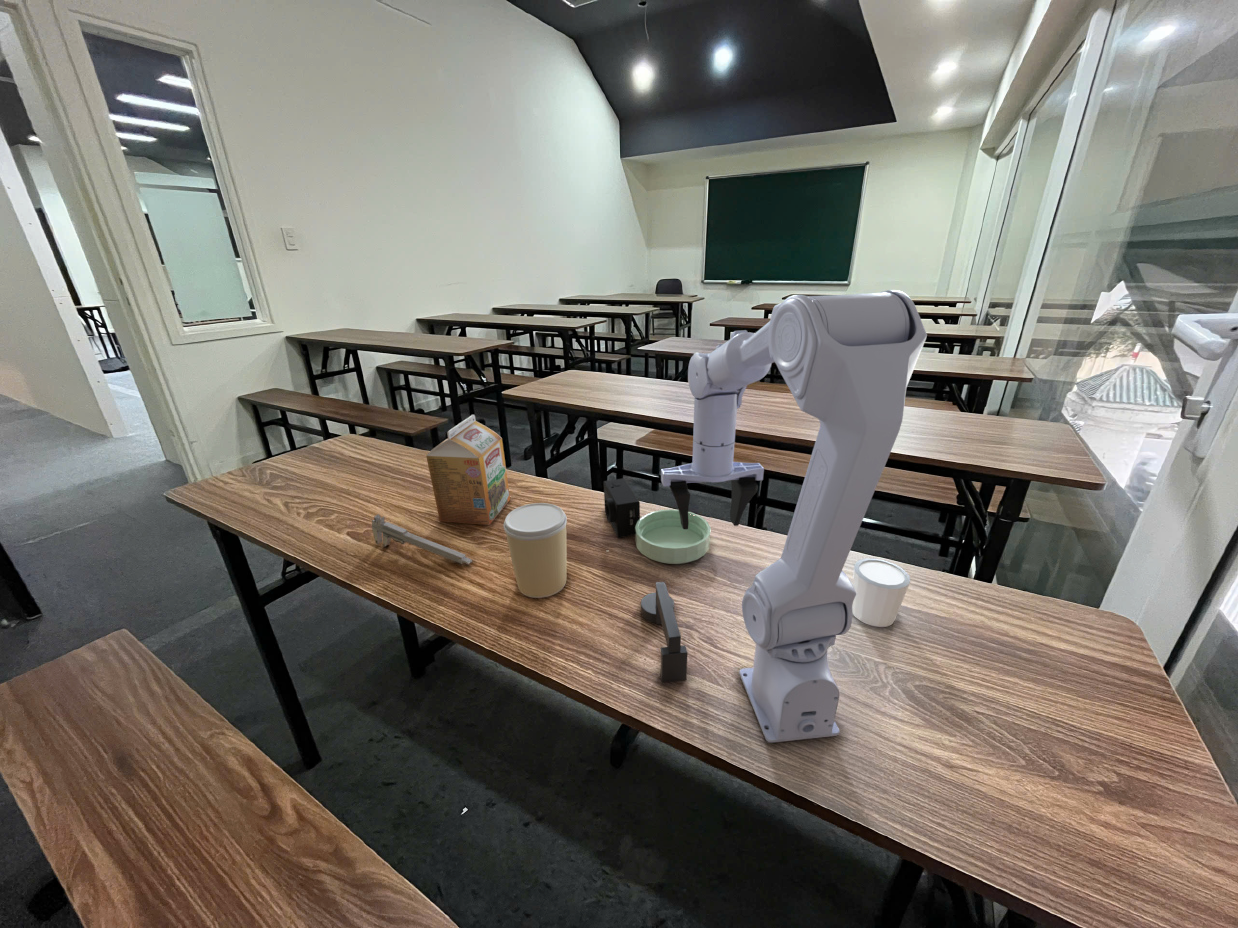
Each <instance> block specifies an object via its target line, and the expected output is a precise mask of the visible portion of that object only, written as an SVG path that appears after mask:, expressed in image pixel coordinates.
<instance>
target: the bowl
mask: <svg viewBox="0 0 1238 928" xmlns="http://www.w3.org/2000/svg"><path fill="white" fill-rule="evenodd" d="M690 514H691V515H690ZM693 515H695V516H693ZM688 522H689V525H688V529H683V528H682V525H681V520H680V514H679V509H671V508H669V509H658V510H654V511H651V512H649V513H647V514H645V515H642V516H640V519H639V520H638V521H637V524H636V526H635V535H634V539H635V540H634V541H635V546H636V549H637V550H638V551H639V552H640V554H642V555H643V556H645V557H646V558H648V559H649V560H652V561H655V562H659V563H662V564H667V565H668V564H670V565H678V564H686V563H687V564H688V563H691V562H694V561H697V560H699V559H700V558H702V557H704V556H705V555H706V554H707V552H709V550H710V548H711V547H710V545H711V532H712V531H711V529H712V527H711V525H710V523H709V522H708V521H707V520H706V519H705V518H704V517H702V516H701V515H699V514H696V513H694V512H692V511H688Z"/></svg>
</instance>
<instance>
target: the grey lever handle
mask: <svg viewBox="0 0 1238 928" xmlns="http://www.w3.org/2000/svg"><path fill="white" fill-rule="evenodd" d="M640 615H641V616H642V618H643V619H644V620H646V621H647V622H649V623H652V624H656V625H661V626H662V630H663V635H664V639H665V643H666V646H662V647H660V666H659V667H660V673H659V674H660V680H661V683H669V682H670V683H672V682H681V681H687V679H688V676H687V675H688V649H687V646H686V645H685V644H684V645H683V644H681V643H682V636H681V632H680V628H679V625H678V621H677V618H676V614H675V601H674V599H673V597H671V596H670V593H669V591H668V587H667V584H666V583H665V581H656V582H655V592H650V593H647V594H646V595H644V596H643V597H642V598H641V600H640Z"/></svg>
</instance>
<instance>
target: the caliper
mask: <svg viewBox="0 0 1238 928" xmlns="http://www.w3.org/2000/svg"><path fill="white" fill-rule="evenodd" d="M371 529H372V530H371V531H372V534H373V539H374V541H375V544H377V545H380V544H381V543H382V545H383V548H386V547H387V546H388V545H390V544H391V541H392V540H393V541H394V542H395V543H400V544H401V545H405V544H406V543H407V544H410V545H412V546H415V547H416V548H417V547H418V548H420V549H423V550H425V551H427V552H430V553H432V554H435V555H437V556H440V557H442V558H446V559H448V560H450V561H451V562H455V563H457V564H460V565H463V564H466V565H469V564H471V563H472V562H473V560H472V559H471V558H470V557H468V556H466V553H462V552H460V551H457V550H455V549H452V548H450V547H447V546H445V545H442V544H439V543H437V542H435V541H432V540H430V539H427V538H425V537H421V536H419V535H416V534H414V533H412V532H409V531H408V529H406V528H403V527H401V526H398V525H396V524H394V523H391V522H389V521H386V522H385V516H382V517H381V515H380V513H378V514H376V515H374V517H373V520H371Z"/></svg>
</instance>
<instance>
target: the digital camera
mask: <svg viewBox="0 0 1238 928" xmlns="http://www.w3.org/2000/svg"><path fill="white" fill-rule="evenodd" d="M603 494H604V495H603V499H604V500H603V501H604V513H605V517H606V520H607V523H609V524H610V525H611V527H612V530H613V531H614V534H615V535H616V537H617V539H618V538H619V539H620V538H625V537H632V536H635V526H636V524H637V521H638V520H639V519H640V518H641V511H640V510H641V501H640V500H639V499H638V496H637V495H636V494H635V492H634V491H633V489H632V488H631V486H630V484H629V483H628V482H627V481H626V479H625V478H616V479H609V480H603Z"/></svg>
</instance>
